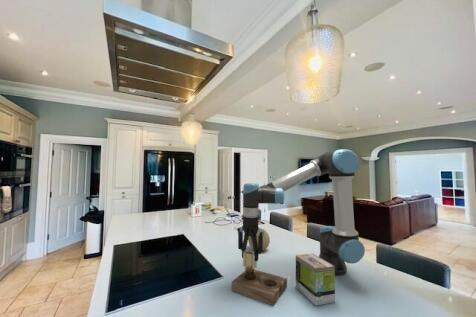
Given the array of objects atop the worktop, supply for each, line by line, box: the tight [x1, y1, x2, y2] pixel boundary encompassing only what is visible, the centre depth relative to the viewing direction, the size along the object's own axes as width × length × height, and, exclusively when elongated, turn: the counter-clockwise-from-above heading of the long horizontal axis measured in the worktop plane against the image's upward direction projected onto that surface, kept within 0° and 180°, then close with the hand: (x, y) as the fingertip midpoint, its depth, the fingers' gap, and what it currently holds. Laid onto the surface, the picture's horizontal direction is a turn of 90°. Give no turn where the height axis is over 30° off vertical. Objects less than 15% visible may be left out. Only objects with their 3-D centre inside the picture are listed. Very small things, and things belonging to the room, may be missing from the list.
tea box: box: [295, 253, 336, 306], centre depth 95 cm, size 15×10×15 cm, turn 17°
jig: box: [231, 269, 288, 306], centre depth 98 cm, size 16×20×4 cm
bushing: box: [244, 250, 256, 277], centre depth 101 cm, size 4×4×10 cm
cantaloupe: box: [248, 227, 271, 251], centre depth 146 cm, size 15×15×15 cm
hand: (249, 266), depth 101 cm, fingers closed on bushing, 4 cm apart
